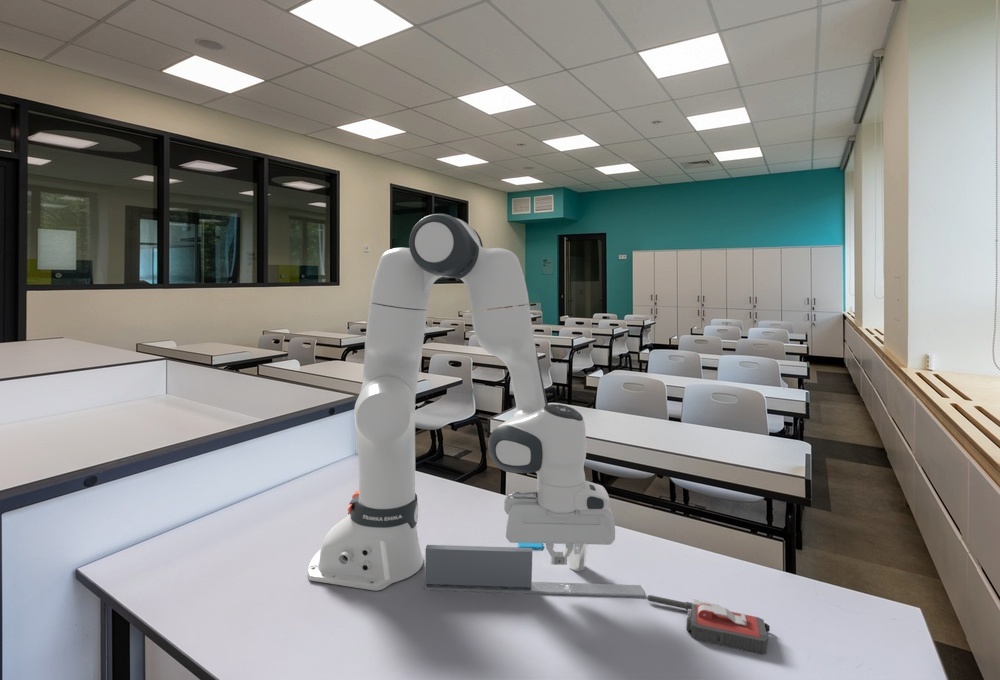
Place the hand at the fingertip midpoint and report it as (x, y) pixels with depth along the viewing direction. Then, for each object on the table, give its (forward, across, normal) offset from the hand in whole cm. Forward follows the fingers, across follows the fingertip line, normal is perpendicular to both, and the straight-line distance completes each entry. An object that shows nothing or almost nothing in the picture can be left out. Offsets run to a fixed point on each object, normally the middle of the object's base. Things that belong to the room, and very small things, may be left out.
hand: (558, 563), depth 99 cm
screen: (+5, -15, 0) cm, 16 cm away
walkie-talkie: (+6, +24, -9) cm, 27 cm away
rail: (+5, -5, 0) cm, 7 cm away
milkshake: (+6, +5, +8) cm, 11 cm away
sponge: (+6, -4, +20) cm, 22 cm away
